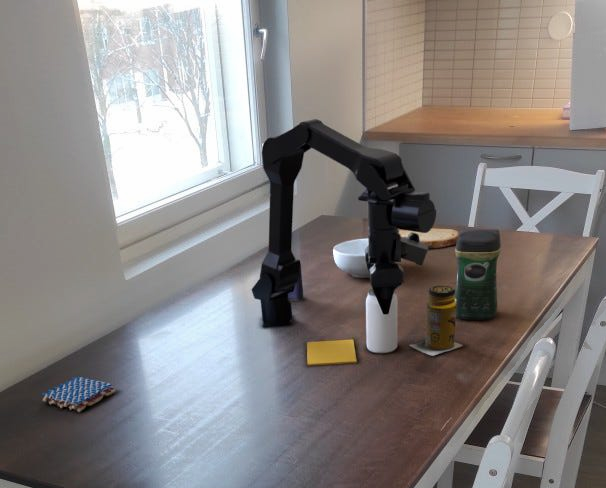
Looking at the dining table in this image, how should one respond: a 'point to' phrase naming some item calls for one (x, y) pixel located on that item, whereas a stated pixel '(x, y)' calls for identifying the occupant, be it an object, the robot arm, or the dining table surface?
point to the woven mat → (78, 393)
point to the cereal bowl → (352, 257)
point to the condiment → (439, 321)
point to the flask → (297, 290)
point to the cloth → (331, 352)
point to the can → (381, 325)
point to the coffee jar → (477, 273)
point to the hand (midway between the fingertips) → (383, 306)
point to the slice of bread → (435, 237)
